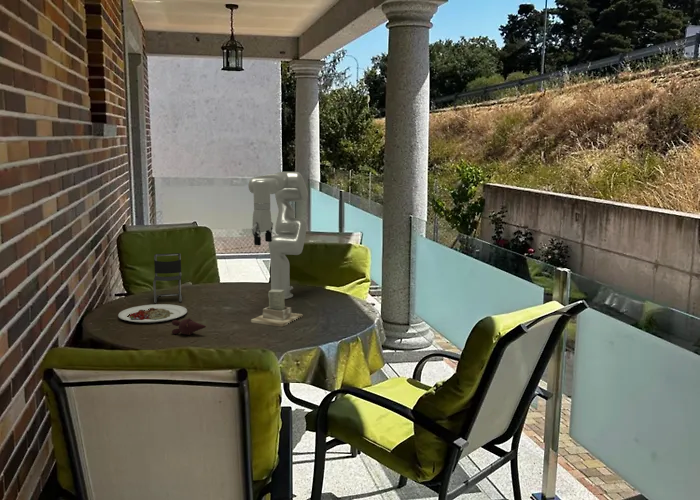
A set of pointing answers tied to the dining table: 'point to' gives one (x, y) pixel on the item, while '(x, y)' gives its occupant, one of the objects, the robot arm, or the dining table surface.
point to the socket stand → (276, 317)
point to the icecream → (186, 326)
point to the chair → (167, 268)
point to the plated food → (152, 313)
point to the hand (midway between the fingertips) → (263, 243)
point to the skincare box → (276, 299)
